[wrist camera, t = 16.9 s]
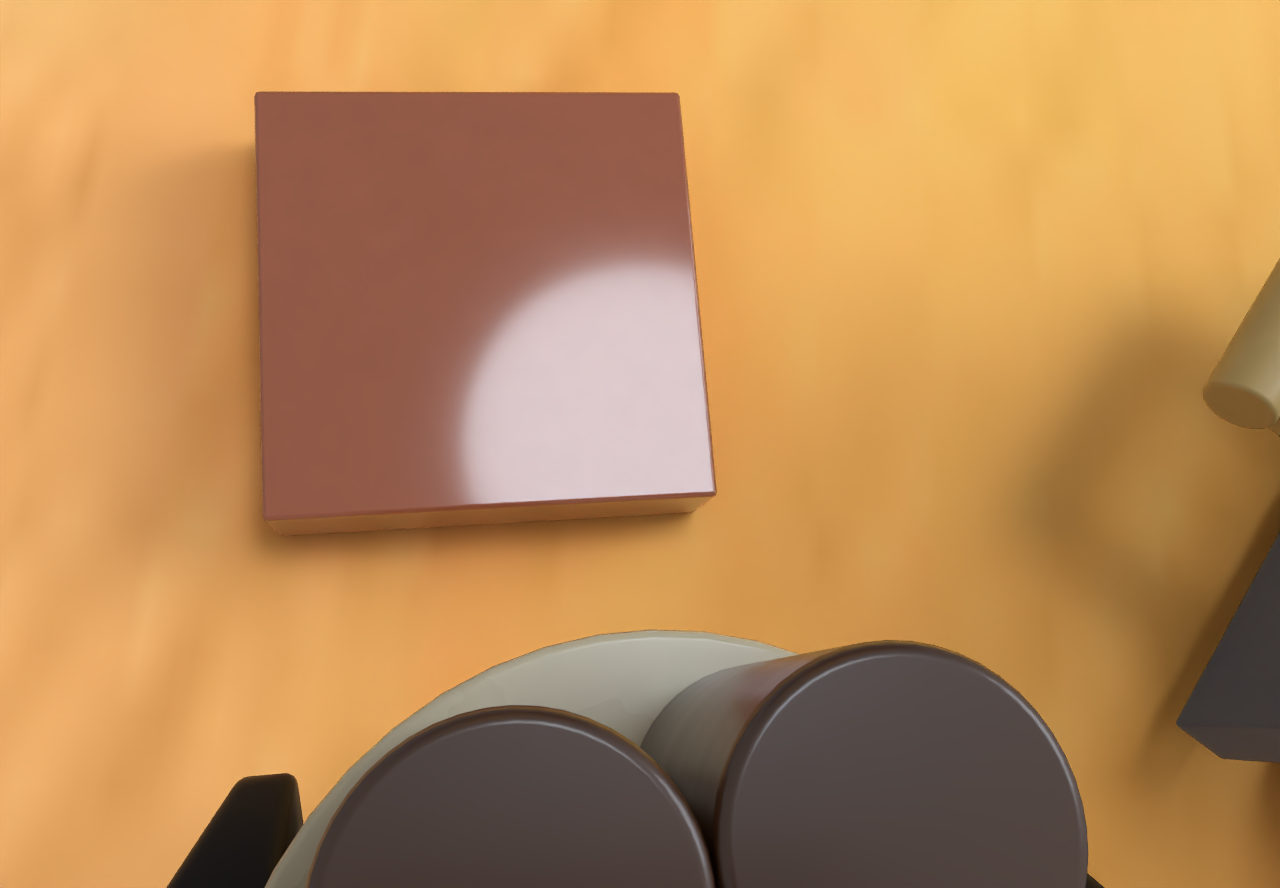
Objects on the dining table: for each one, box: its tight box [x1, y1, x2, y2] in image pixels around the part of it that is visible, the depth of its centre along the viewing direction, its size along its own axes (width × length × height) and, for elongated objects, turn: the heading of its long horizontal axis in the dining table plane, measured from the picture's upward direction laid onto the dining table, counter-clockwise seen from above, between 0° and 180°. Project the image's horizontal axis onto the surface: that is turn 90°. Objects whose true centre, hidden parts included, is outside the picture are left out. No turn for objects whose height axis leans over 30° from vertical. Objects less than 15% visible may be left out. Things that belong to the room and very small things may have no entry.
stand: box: [254, 92, 717, 536], centre depth 23 cm, size 8×8×2 cm
